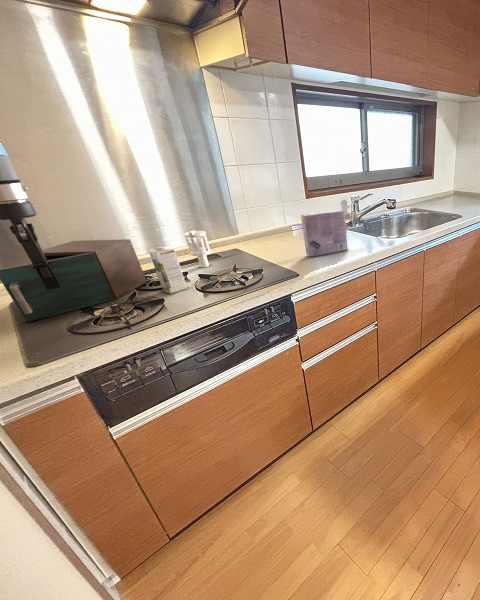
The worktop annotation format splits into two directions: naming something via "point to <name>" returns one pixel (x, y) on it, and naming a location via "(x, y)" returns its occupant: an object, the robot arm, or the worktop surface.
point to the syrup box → (168, 269)
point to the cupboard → (107, 261)
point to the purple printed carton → (324, 233)
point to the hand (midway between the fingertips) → (53, 287)
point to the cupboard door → (69, 296)
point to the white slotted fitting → (198, 246)
